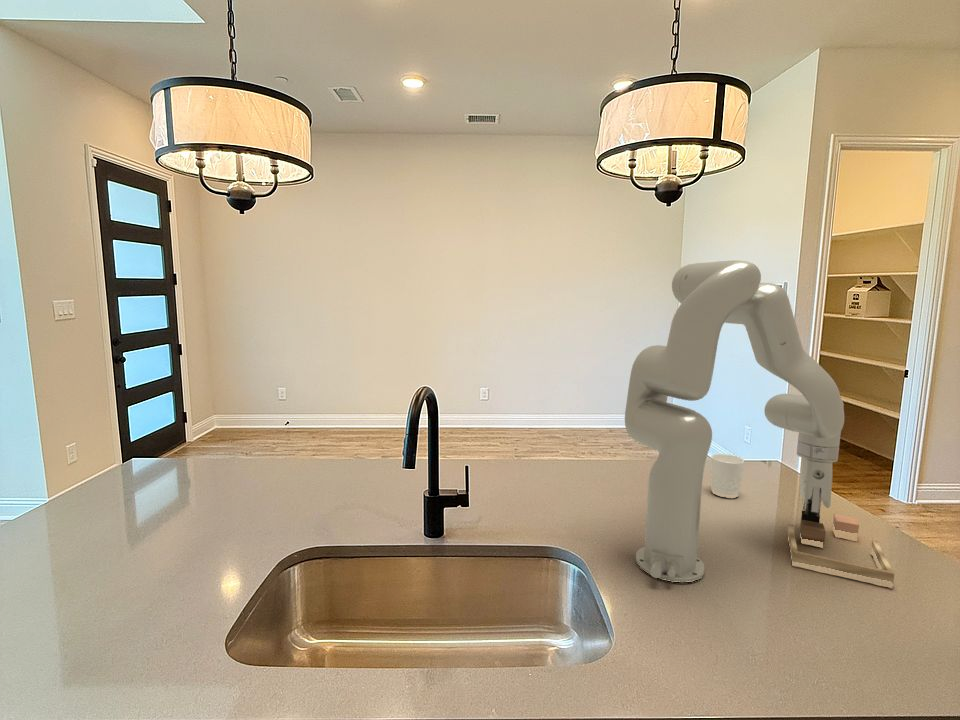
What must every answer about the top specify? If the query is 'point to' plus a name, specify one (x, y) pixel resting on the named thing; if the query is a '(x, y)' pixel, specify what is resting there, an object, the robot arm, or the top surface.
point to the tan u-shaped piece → (848, 567)
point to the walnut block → (812, 531)
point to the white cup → (726, 473)
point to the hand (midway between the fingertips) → (809, 530)
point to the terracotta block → (845, 523)
